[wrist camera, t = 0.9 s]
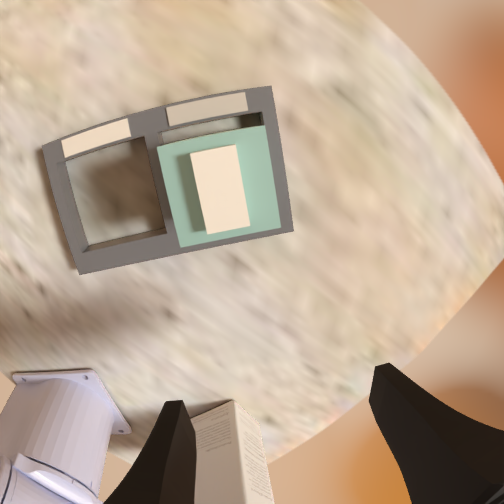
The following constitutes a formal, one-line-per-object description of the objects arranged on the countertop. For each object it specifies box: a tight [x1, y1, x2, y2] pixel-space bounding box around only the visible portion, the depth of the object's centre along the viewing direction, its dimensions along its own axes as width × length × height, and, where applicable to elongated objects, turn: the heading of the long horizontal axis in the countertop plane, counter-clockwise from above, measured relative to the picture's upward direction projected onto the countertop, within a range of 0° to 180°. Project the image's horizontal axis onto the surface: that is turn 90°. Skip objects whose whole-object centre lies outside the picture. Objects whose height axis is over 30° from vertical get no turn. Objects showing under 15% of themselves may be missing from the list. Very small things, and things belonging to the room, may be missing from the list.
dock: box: [42, 86, 294, 275], centre depth 16 cm, size 13×8×1 cm, turn 100°
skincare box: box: [190, 400, 275, 504], centre depth 19 cm, size 6×4×12 cm
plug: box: [157, 125, 281, 248], centre depth 14 cm, size 4×4×7 cm
